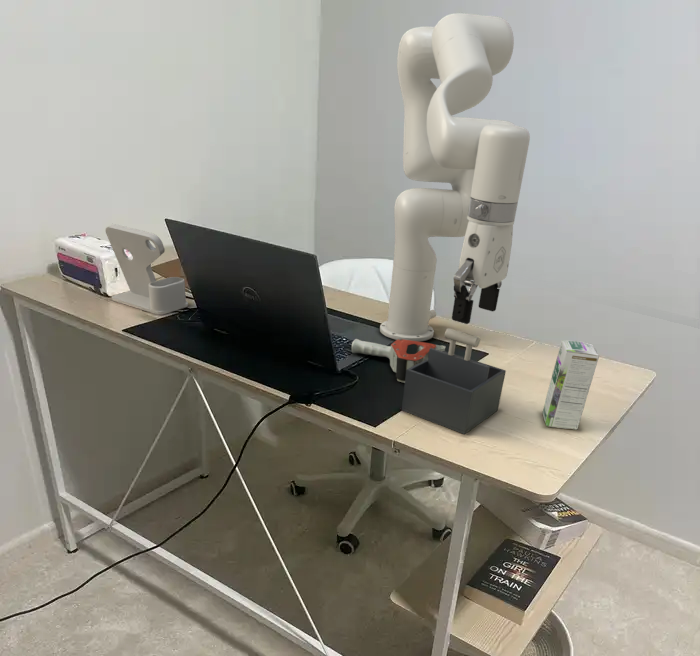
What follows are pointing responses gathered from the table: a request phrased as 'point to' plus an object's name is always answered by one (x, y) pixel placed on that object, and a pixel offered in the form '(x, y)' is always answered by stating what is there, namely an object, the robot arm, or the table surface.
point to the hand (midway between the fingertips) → (474, 315)
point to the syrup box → (570, 384)
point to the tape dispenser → (397, 353)
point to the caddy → (453, 386)
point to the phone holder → (144, 272)
